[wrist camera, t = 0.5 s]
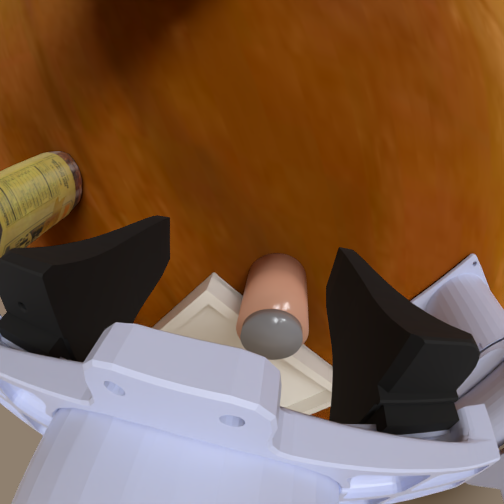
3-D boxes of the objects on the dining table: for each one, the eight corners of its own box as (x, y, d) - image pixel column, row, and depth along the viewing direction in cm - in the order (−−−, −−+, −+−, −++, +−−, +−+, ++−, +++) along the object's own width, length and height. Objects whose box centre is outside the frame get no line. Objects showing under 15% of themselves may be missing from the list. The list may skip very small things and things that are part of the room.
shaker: (318, 280, 24) (323, 342, 18) (276, 309, 26) (270, 371, 20) (278, 242, 23) (272, 299, 17) (236, 276, 25) (219, 336, 19)
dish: (349, 379, 30) (351, 396, 28) (263, 416, 36) (261, 431, 34) (213, 272, 25) (206, 289, 22) (139, 339, 31) (131, 354, 29)
